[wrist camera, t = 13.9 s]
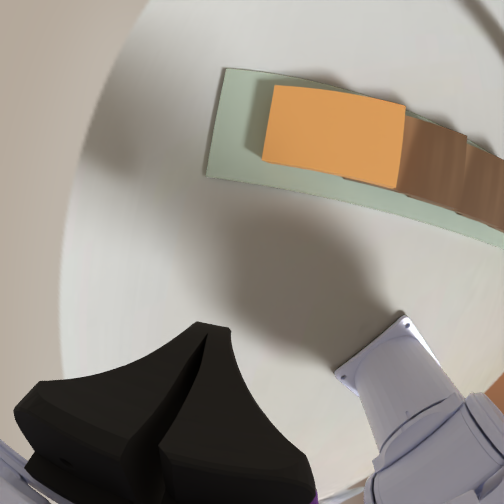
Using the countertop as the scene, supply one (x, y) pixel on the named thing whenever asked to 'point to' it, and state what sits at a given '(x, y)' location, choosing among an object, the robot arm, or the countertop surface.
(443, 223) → the mat
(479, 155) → the domino
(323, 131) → the orange domino
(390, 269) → the countertop surface
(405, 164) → the domino
